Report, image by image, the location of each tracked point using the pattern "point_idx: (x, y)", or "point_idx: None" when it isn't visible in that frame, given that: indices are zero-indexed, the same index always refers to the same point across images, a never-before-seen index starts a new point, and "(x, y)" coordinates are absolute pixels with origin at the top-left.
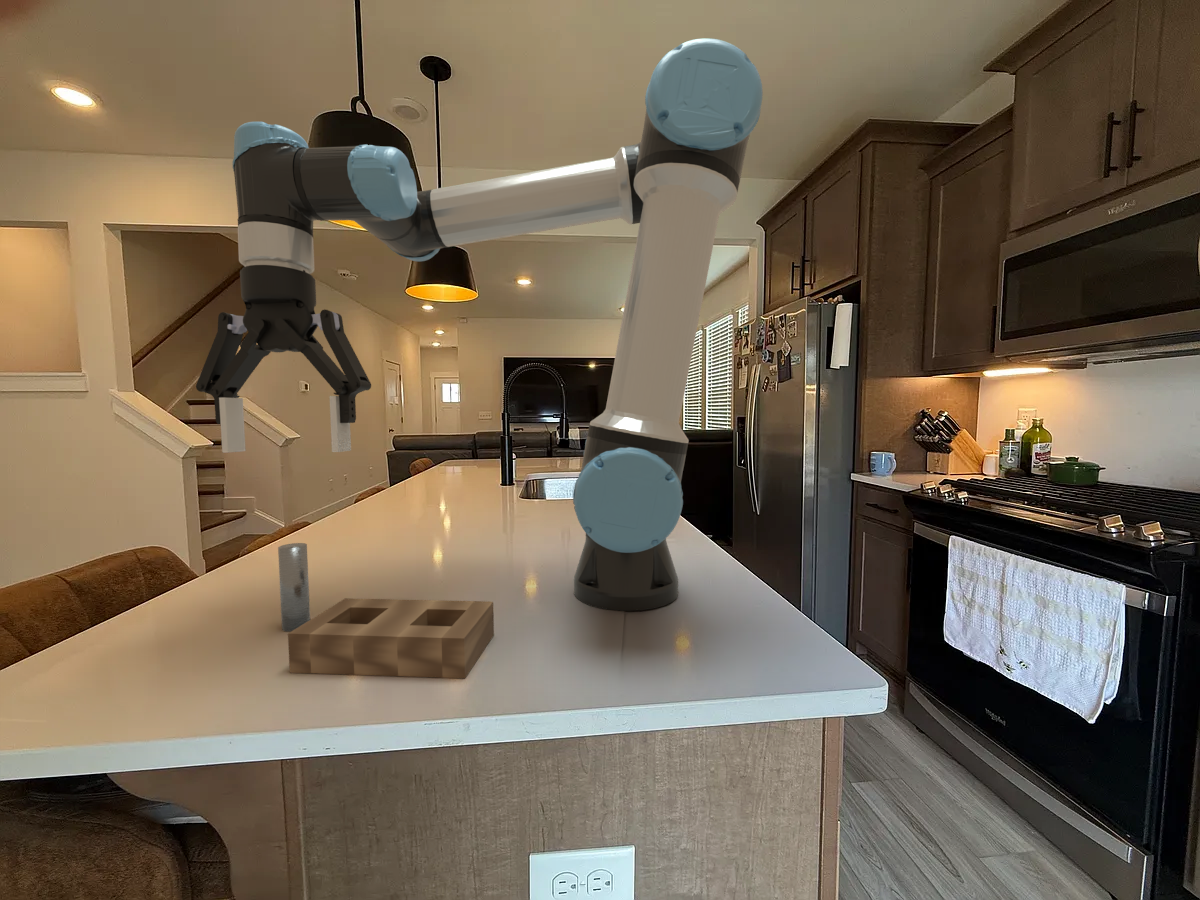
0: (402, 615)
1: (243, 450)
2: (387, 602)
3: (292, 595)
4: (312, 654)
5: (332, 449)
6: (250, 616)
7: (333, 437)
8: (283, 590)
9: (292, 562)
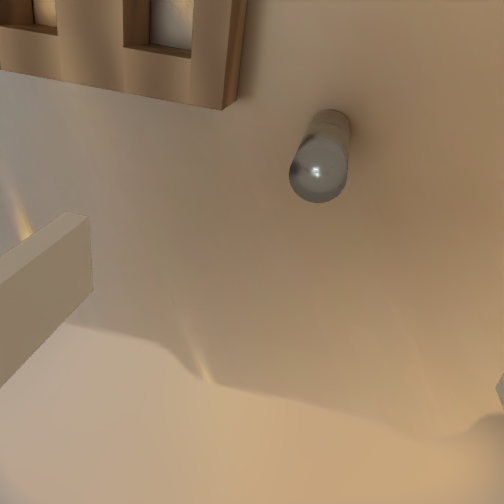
0: (83, 5)
1: (500, 380)
2: (137, 78)
3: (319, 124)
4: None
5: (81, 221)
6: (434, 195)
7: (47, 241)
8: (335, 127)
9: (310, 141)
